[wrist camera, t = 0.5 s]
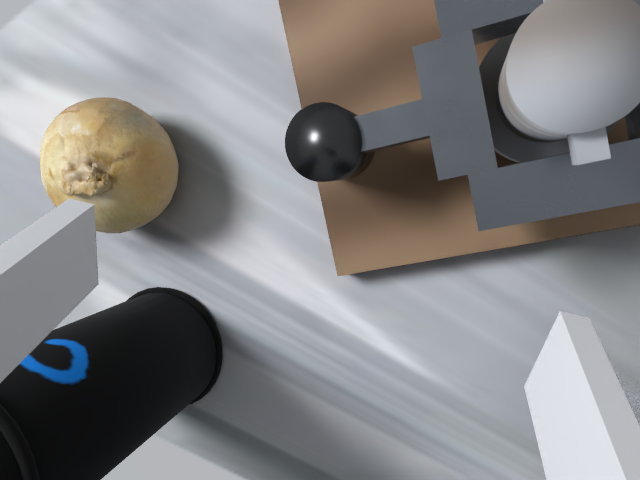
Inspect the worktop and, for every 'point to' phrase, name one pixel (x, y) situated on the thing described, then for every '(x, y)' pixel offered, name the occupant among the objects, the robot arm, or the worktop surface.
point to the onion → (110, 162)
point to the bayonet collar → (465, 131)
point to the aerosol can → (105, 386)
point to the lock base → (407, 171)
